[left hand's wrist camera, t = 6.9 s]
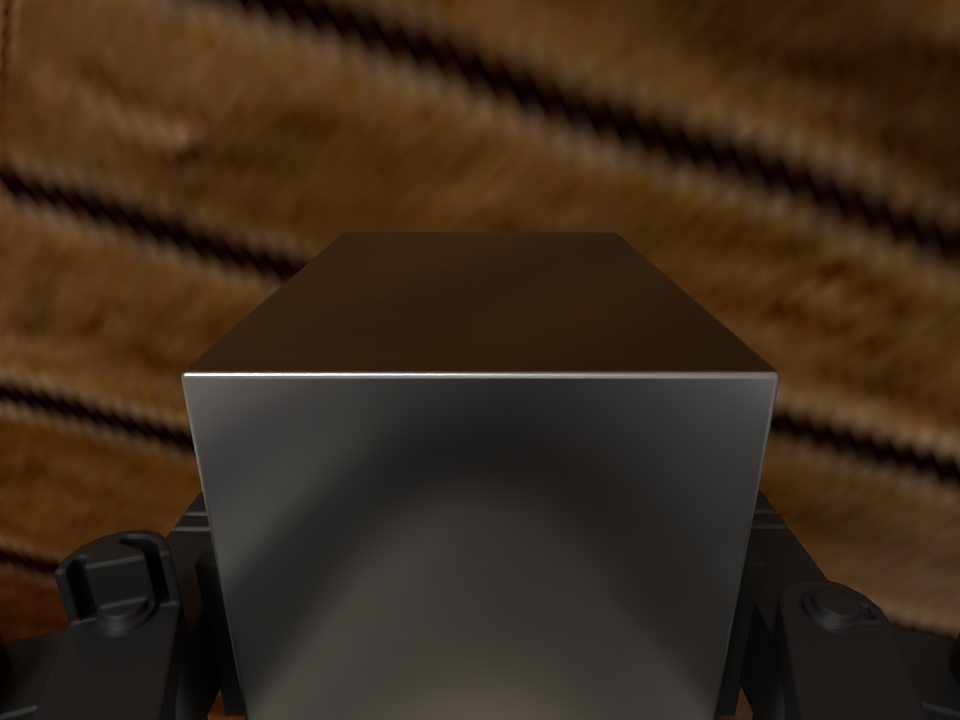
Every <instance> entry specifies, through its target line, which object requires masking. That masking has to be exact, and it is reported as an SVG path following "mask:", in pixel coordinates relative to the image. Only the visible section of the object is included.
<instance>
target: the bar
mask: <svg viewBox="0 0 960 720" xmlns="http://www.w3.org/2000/svg"><path fill="white" fill-rule="evenodd" d="M181 380H182V385H183V390H184V395H185V401H186V406H187V411H188V416H189V422H190V427H191V432H192V437H193V443H194V448H195V453H196V458H197V464H198V469H199V474H200V480H201V485H202V490H203V495H204V501H205V506H206V511H207V516H208V522H209V527H210V532H211V537H212V543H213V548H214V553H215V558H216V564H217V569H218V574H219V580H220V585H221V590H222V595H223V601H224V606H225V611H226V616H227V622H228V627H229V632H230V637H231V643H232V648H233V653H234V658H235V664H236V669H237V674H238V680H239V685H240V690H241V695H242V701H243V706H244V711H245V716H246V720H714V719H715V714H716V709H717V704H718V698H719V693H720V688H721V683H722V677H723V672H724V667H725V662H726V656H727V651H728V646H729V641H730V635H731V630H732V625H733V620H734V614H735V609H736V604H737V599H738V593H739V588H740V583H741V578H742V572H743V567H744V562H745V557H746V551H747V546H748V541H749V536H750V530H751V525H752V520H753V515H754V510H755V504H756V499H757V494H758V489H759V483H760V478H761V473H762V468H763V462H764V457H765V452H766V447H767V441H768V436H769V431H770V426H771V420H772V415H773V410H774V405H775V399H776V394H777V389H778V384H779V373H778V371H777V370H776V369H774V368H773V367H772V366H771V365H770V364H769V363H767V362H766V361H765V360H764V359H763V358H762V357H760V356H759V355H758V354H757V353H756V352H755V351H753V350H752V349H751V348H750V347H749V346H748V345H746V344H745V343H744V342H743V341H742V340H741V339H739V338H738V337H737V336H736V335H735V334H734V333H733V332H731V331H730V330H729V329H728V328H727V327H726V326H724V325H723V324H722V323H721V322H720V321H719V320H717V319H716V318H715V317H714V316H713V315H712V314H710V313H709V312H708V311H707V310H706V309H705V308H703V307H702V306H701V305H700V304H699V303H698V302H696V301H695V300H694V299H693V298H692V297H691V296H689V295H688V294H687V293H686V292H685V291H684V290H683V289H681V288H680V287H679V286H678V285H677V284H676V283H674V282H673V281H672V280H671V279H670V278H669V277H667V276H666V275H665V274H664V273H663V272H662V271H660V270H659V269H658V268H657V267H656V266H655V265H653V264H652V263H651V262H650V261H649V260H648V259H646V258H645V257H644V256H643V255H642V254H641V253H640V252H638V251H637V250H636V249H635V248H634V247H633V246H631V245H630V244H629V243H628V242H627V241H626V240H624V239H623V238H622V237H621V236H620V235H619V234H617V233H434V232H345V233H343V234H342V235H341V236H339V237H338V238H337V239H336V240H335V241H334V242H333V243H331V244H330V245H329V246H328V247H327V248H326V249H324V250H323V251H322V252H321V253H320V254H319V255H317V256H316V257H315V258H314V259H313V260H312V261H310V262H309V263H308V264H307V265H306V266H305V267H304V268H302V269H301V270H300V271H299V272H298V273H297V274H295V275H294V276H293V277H292V278H291V279H290V280H288V281H287V282H286V283H285V284H284V285H283V286H281V287H280V288H279V289H278V290H277V291H276V292H275V293H273V294H272V295H271V296H270V297H269V298H268V299H266V300H265V301H264V302H263V303H262V304H261V305H259V306H258V307H257V308H256V309H255V310H254V311H252V312H251V313H250V314H249V315H248V316H247V317H246V318H244V319H243V320H242V321H241V322H240V323H239V324H237V325H236V326H235V327H234V328H233V329H232V330H230V331H229V332H228V333H227V334H226V335H225V336H223V337H222V338H221V339H220V340H219V341H218V342H217V343H215V344H214V345H213V346H212V347H211V348H210V349H208V350H207V351H206V352H205V353H204V354H203V355H201V356H200V357H199V358H198V359H197V360H196V361H194V362H193V363H192V364H191V365H190V366H189V367H188V368H186V369H185V370H184V371H183V372H182V376H181Z"/></svg>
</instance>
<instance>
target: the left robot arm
mask: <svg viewBox="0 0 960 720" xmlns="http://www.w3.org/2000/svg"><path fill="white" fill-rule="evenodd" d="M54 574H55V578H56V581H57V584H58V587H59V591H60V594H61V597H62V600H63V604H64V607H65V610H66V613H67V617H68V620H69V623H70V625H69V627H68V628H65V629H61V630H58V631H54V632H50V633H45V634H41V635H37V636H32V637H28V638H23V639H19V640H15V641H10V642H6V643H5V642H4V639H3V636H2V633H1V631H0V720H208V718H207V716H208V713H209V711H210V709H211V707H212V705H213V702H214V700H215V698H216V696H217V694H218V691H219V689H220V690H221V695H222V700H223V705H224V709H225V714H226V716H235V715H245V711H244V706H243V701H242V695H241V690H240V685H239V680H238V674H237V669H236V664H235V658H234V653H233V648H232V643H231V637H230V632H229V627H228V622H227V616H226V611H225V606H224V601H223V595H222V590H221V585H220V580H219V574H218V569H217V564H216V558H215V553H214V548H213V543H212V537H211V532H210V527H209V522H208V516H207V511H206V506H205V501H204V495H203V492H201V493H200V494H199V495H198V496H197V497H196V499H195V500H194V501H193V503H192V504H191V505H190V507H189V508H188V509H187V511H186V512H185V516H182V517H181V519H180V520H179V521H178V523H177V524H176V526H175V527H174V531H171V532H170V534H169V535H168V536H167V538H166V539H165V538H164V537H163V536H162V535H161V534H159V533H155V532H150V531H146V530H137V531H123V532H119V533H116V534H112V535H108V536H104V537H101V538H99V539H97V540H95V541H93V542H90V543H88V544H86V545H84V546H82V547H80V548H79V549H77V550H76V551H75V552H73V553H72V554H71V555H69V556H68V557H66V558H65V559H64V560H63V561H62V563H61V564H60V565H59V567H58V568H57V569H56V570H55V572H54ZM740 687H742V690H743V692H744V694H745V696H746V698H747V701H748V703H749V705H750V707H751V709H752V711H753V718H752V720H960V632H959V635H958V638H957V640H953V639H948V638H944V637H940V636H935V635H931V634H926V633H922V632H918V631H913V630H909V629H905V628H901V627H898V626H895V625H891V624H890V622H889V621H888V619H887V618H886V616H885V615H884V613H883V612H882V610H881V609H880V608H879V607H878V606H877V605H875V604H874V603H873V602H872V601H871V600H869V599H868V598H867V597H866V596H865V595H863V594H861V593H859V592H857V591H855V590H853V589H851V588H849V587H847V586H845V585H842V584H839V583H836V582H832V581H829V580H827V578H826V577H825V576H824V574H823V573H822V572H821V570H820V569H819V568H818V566H817V565H816V564H815V562H814V561H813V560H812V558H811V557H810V556H809V554H808V553H807V552H806V550H805V549H804V548H803V546H802V545H801V544H800V542H799V541H798V540H797V538H796V537H795V536H794V534H793V533H792V532H791V530H790V529H787V525H786V524H785V522H784V521H783V520H782V518H781V517H780V516H779V514H776V510H775V509H774V508H773V506H772V505H771V504H770V502H769V501H768V499H767V498H766V497H765V495H764V494H763V493H762V492H761V491H760V490H758V494H757V499H756V504H755V510H754V515H753V520H752V525H751V530H750V536H749V541H748V546H747V551H746V557H745V562H744V567H743V572H742V578H741V583H740V588H739V593H738V599H737V604H736V609H735V614H734V620H733V625H732V630H731V635H730V641H729V646H728V651H727V656H726V662H725V667H724V672H723V677H722V683H721V688H720V693H719V698H718V704H717V709H716V714H715V716H735V712H736V707H737V702H738V697H739V692H740Z"/></svg>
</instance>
